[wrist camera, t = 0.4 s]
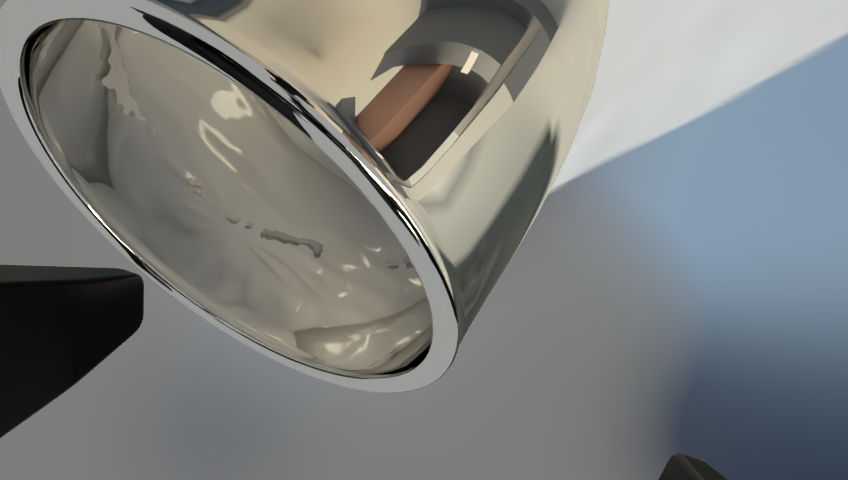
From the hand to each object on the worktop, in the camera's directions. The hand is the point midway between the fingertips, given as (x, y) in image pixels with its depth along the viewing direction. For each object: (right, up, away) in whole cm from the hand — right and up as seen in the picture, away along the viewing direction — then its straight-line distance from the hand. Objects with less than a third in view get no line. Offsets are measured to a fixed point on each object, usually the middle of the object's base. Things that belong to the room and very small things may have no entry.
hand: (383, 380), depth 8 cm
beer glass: (+5, +13, +7) cm, 15 cm away
